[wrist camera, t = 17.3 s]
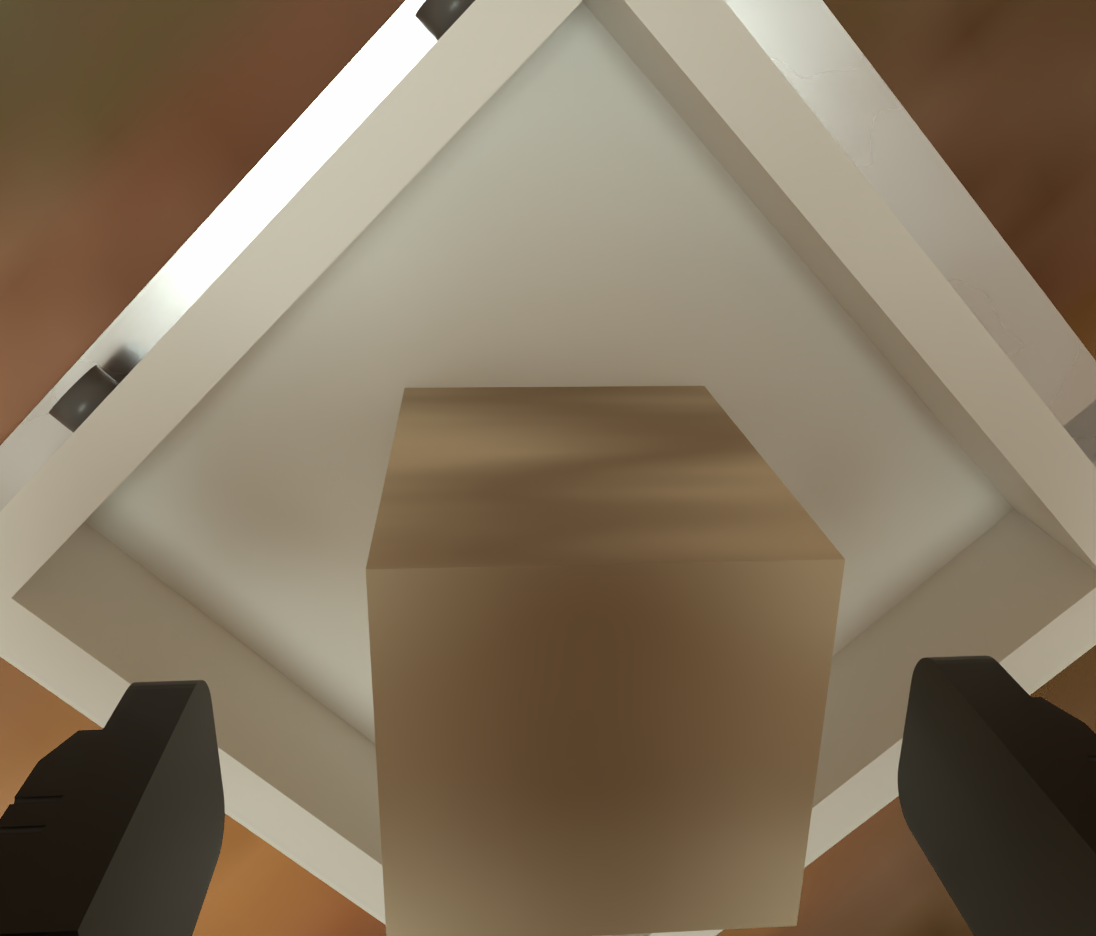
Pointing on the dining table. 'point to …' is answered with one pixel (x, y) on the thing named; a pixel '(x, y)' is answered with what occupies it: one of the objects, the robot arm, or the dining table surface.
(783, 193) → the shallow white tray
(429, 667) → the block
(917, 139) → the track
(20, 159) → the dining table surface
